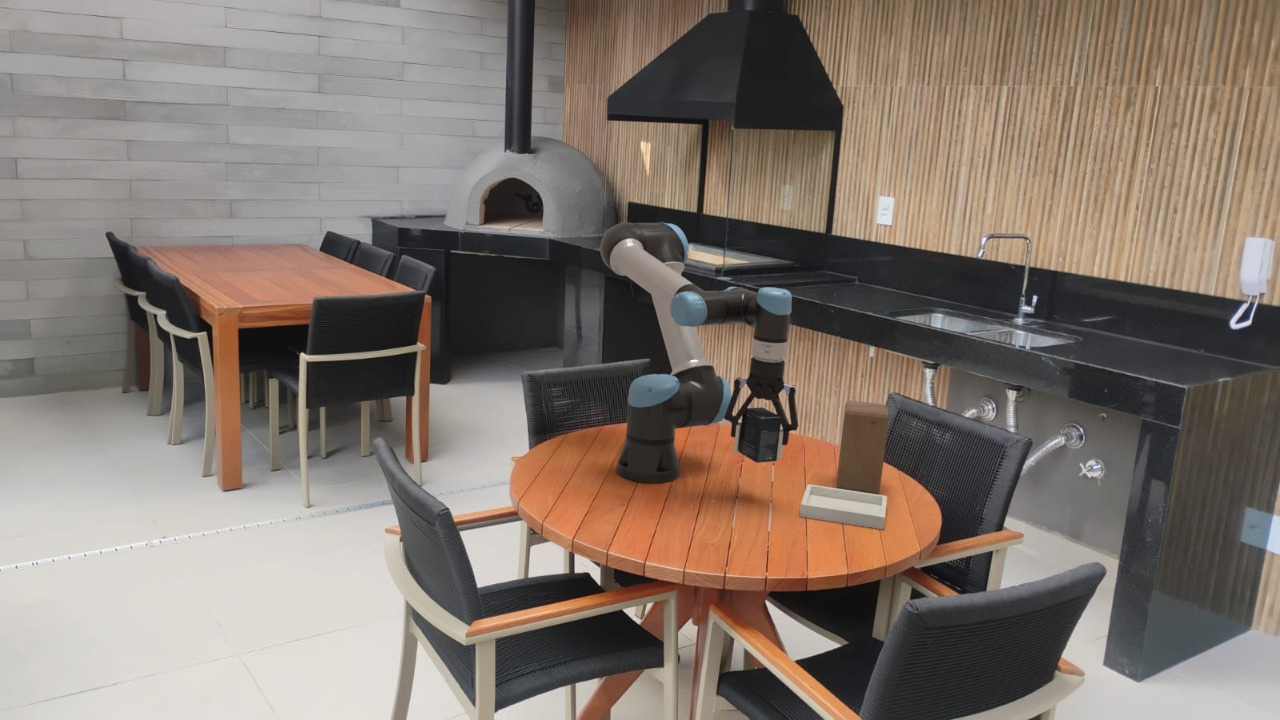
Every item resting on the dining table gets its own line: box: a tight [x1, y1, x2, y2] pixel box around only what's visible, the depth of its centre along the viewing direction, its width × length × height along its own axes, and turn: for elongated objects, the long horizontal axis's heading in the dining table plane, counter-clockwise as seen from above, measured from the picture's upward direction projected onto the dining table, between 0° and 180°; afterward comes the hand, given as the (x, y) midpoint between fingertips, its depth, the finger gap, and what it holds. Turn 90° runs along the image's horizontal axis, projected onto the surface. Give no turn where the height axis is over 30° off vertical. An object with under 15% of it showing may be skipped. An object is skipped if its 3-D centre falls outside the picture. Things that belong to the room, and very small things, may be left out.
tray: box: [799, 483, 888, 531], centre depth 220 cm, size 18×14×3 cm
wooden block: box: [836, 400, 890, 495], centre depth 235 cm, size 10×10×20 cm
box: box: [738, 407, 782, 464], centre depth 222 cm, size 8×6×11 cm
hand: (757, 454), depth 223 cm, fingers closed on box, 9 cm apart
